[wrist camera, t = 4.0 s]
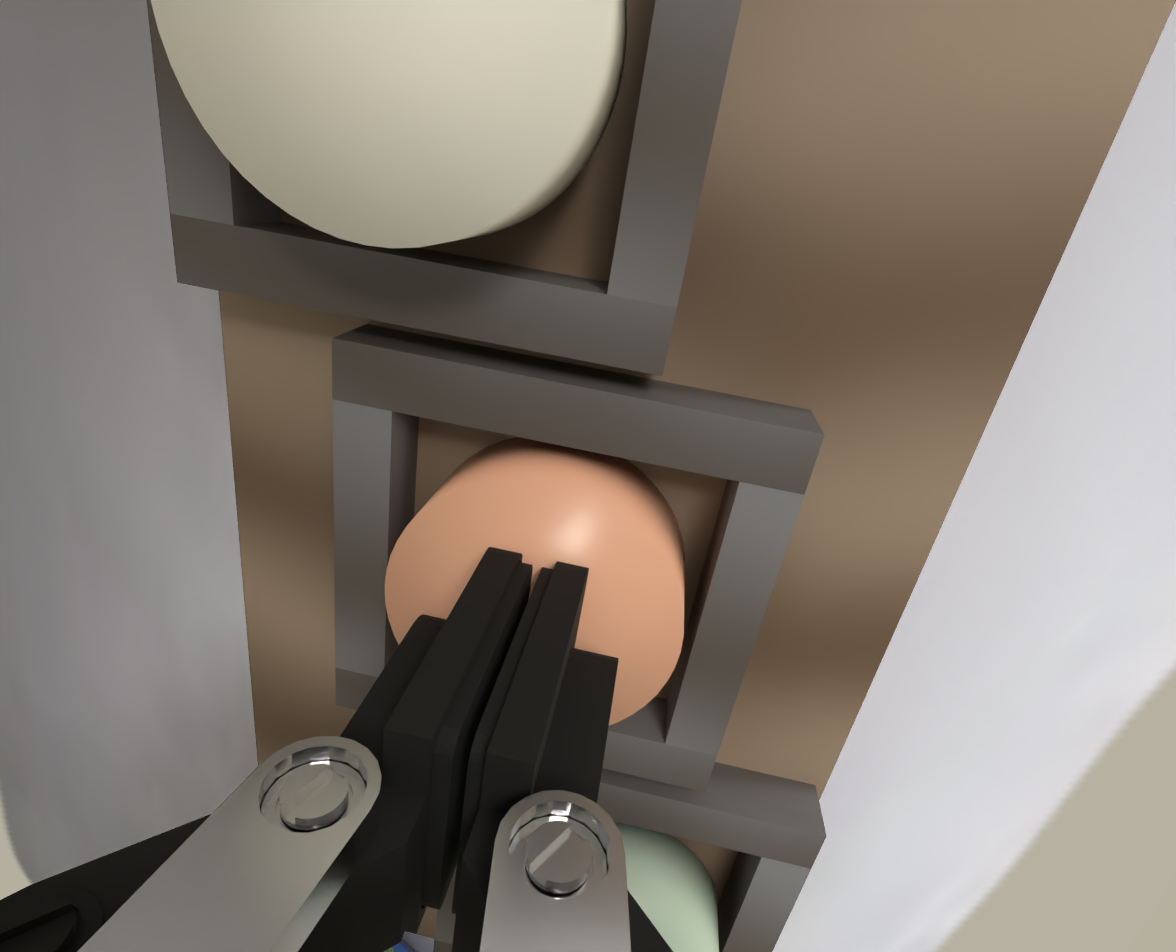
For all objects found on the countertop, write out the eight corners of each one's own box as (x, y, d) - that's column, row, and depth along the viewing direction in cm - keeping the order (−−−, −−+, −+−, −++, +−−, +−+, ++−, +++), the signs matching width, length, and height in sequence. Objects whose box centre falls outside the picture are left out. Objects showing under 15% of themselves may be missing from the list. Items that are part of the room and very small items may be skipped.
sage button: (512, 789, 14) (486, 879, 12) (741, 845, 14) (750, 945, 12) (491, 928, 16) (465, 1022, 14) (689, 979, 16) (689, 1081, 14)
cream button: (245, -248, 8) (106, -388, 6) (664, -193, 7) (655, -322, 5) (268, 206, 10) (171, 209, 8) (593, 265, 9) (570, 282, 8)
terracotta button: (435, 409, 11) (388, 450, 10) (713, 465, 11) (717, 518, 9) (422, 631, 14) (381, 699, 12) (655, 684, 13) (650, 762, 11)
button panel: (258, -379, 9) (57, -644, 6) (1207, -265, 8) (1485, -512, 5) (307, 832, 20) (242, 940, 17) (720, 935, 19) (725, 1068, 16)
